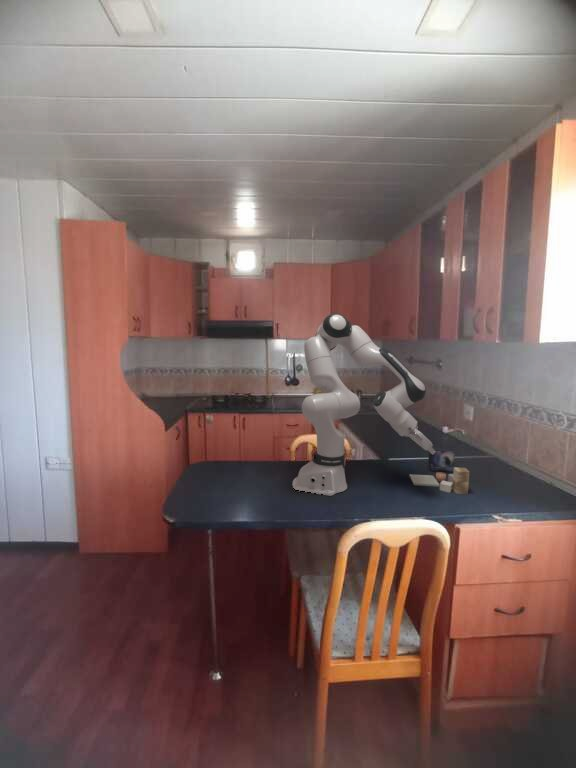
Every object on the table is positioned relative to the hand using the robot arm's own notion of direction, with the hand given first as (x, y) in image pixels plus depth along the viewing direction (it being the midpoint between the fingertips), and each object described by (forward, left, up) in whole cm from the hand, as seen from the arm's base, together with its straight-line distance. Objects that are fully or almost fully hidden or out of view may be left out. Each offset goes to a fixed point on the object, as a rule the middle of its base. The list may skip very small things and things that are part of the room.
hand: (429, 449), depth 147 cm
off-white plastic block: (+7, -1, -17) cm, 18 cm away
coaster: (0, +7, -16) cm, 18 cm away
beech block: (+12, -1, -16) cm, 21 cm away
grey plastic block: (+13, +8, -17) cm, 23 cm away
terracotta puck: (+8, +9, -16) cm, 20 cm away
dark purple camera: (+11, +22, -17) cm, 30 cm away
